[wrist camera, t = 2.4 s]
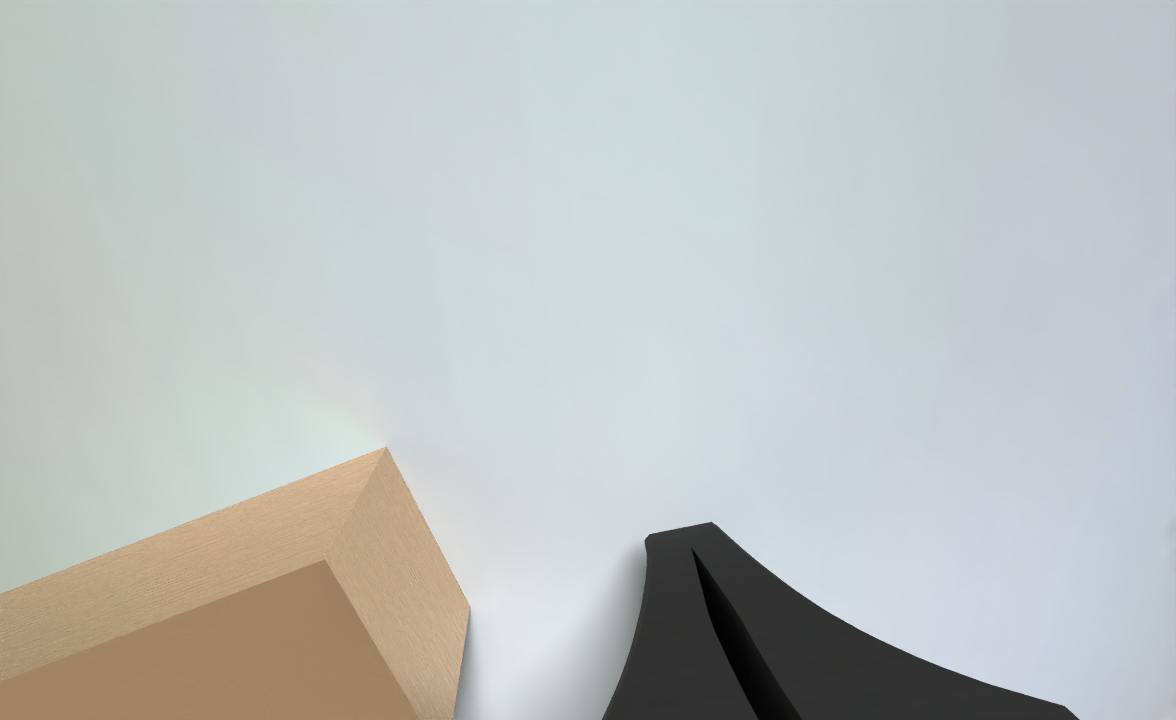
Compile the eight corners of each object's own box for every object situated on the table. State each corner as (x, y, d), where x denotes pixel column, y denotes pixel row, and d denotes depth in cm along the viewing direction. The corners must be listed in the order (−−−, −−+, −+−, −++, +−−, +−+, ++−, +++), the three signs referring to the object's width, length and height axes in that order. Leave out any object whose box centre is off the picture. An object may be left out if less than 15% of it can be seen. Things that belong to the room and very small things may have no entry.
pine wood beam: (471, 598, 14) (445, 763, 10) (-108, 813, 14) (-342, 1047, 11) (389, 441, 13) (325, 559, 9) (-239, 681, 13) (-555, 890, 9)
